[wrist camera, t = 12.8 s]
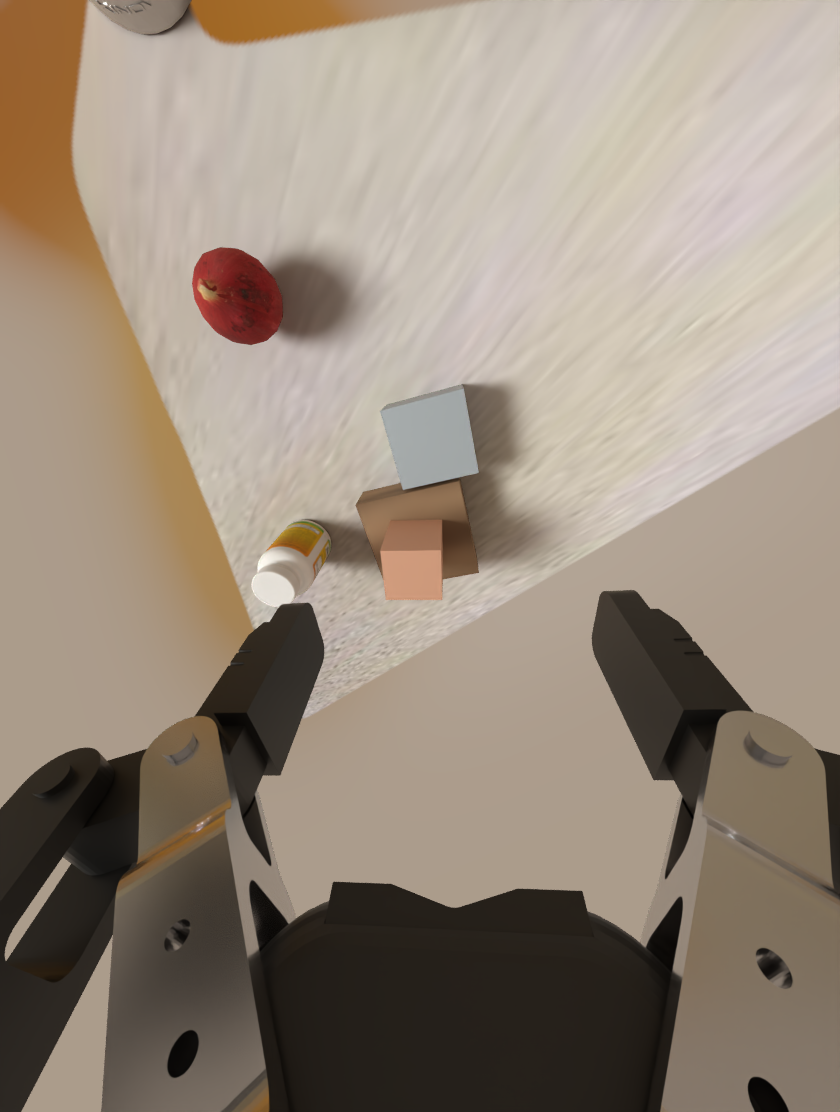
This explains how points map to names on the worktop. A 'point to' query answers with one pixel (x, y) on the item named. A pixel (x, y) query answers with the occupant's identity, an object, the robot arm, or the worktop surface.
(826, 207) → the worktop surface
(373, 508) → the walnut block
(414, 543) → the terracotta block
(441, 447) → the slate block
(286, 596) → the supplement bottle
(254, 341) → the red oval lump
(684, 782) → the robot arm
